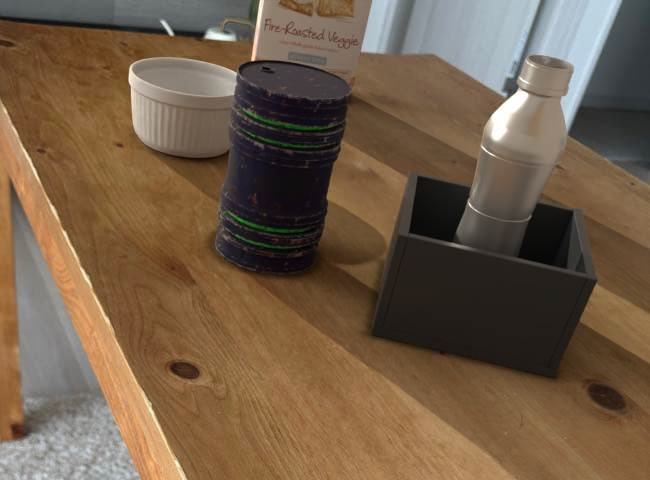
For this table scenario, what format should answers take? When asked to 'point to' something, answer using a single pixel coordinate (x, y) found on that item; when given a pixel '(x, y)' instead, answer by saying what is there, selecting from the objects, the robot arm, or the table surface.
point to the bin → (483, 282)
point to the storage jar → (280, 164)
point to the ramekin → (182, 105)
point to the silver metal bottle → (517, 158)
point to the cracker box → (313, 33)
